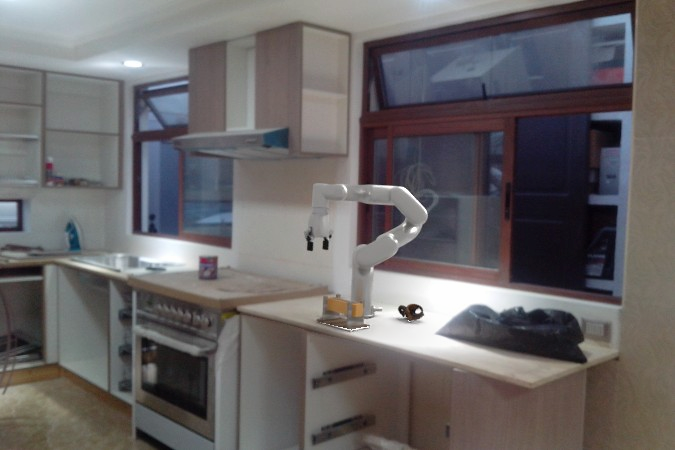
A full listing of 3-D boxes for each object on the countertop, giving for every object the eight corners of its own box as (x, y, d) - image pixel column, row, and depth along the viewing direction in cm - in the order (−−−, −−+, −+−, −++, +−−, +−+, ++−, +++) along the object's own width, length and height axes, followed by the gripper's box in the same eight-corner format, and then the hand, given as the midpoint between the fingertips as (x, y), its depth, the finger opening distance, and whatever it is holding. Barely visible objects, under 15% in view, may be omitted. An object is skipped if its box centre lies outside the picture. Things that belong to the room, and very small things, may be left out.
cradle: (316, 321, 268) (317, 295, 267) (334, 318, 275) (336, 292, 274) (350, 331, 253) (352, 304, 253) (369, 328, 261) (370, 301, 260)
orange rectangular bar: (324, 309, 269) (325, 296, 269) (331, 307, 272) (331, 295, 271) (355, 317, 256) (356, 304, 256) (362, 316, 259) (363, 303, 259)
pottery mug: (424, 320, 284) (427, 306, 279) (417, 333, 276) (420, 319, 272) (399, 310, 287) (402, 296, 283) (391, 322, 280) (394, 308, 275)
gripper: (327, 210, 289) (325, 248, 290) (299, 210, 276) (297, 250, 277) (339, 212, 284) (337, 250, 285) (312, 212, 271) (309, 252, 272)
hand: (317, 250), depth 281 cm, fingers open, 9 cm apart
